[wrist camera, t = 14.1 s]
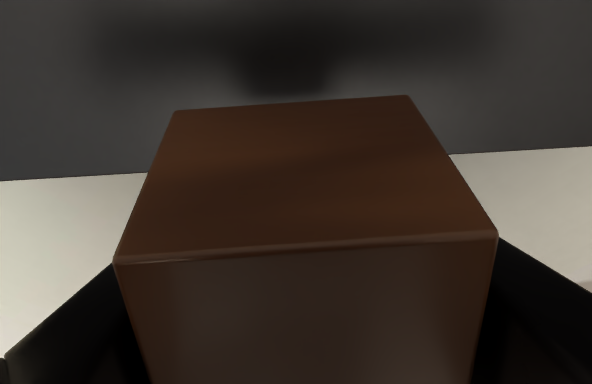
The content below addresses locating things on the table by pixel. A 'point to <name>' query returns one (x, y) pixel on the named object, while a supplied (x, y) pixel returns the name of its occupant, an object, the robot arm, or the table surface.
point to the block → (306, 249)
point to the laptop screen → (283, 71)
